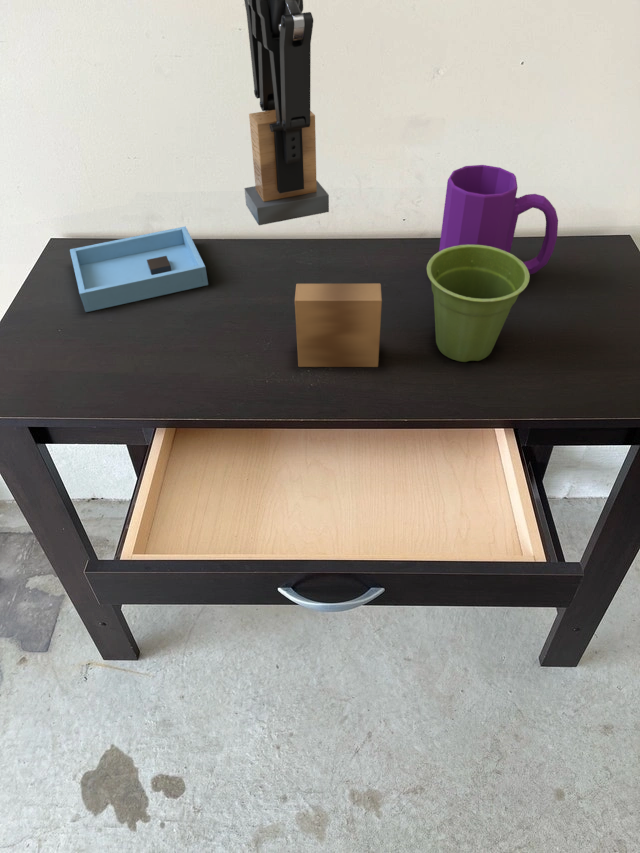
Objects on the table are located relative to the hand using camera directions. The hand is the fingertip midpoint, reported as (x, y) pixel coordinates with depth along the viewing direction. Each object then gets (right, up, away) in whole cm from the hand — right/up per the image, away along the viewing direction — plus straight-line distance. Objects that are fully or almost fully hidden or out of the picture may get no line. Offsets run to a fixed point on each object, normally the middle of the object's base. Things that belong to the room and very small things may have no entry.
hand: (285, 181), depth 70 cm
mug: (+28, -5, +25) cm, 38 cm away
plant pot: (+22, -16, +15) cm, 31 cm away
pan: (-23, -4, +28) cm, 36 cm away
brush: (0, -2, +2) cm, 3 cm away
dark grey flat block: (-20, -3, +28) cm, 35 cm away
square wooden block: (+6, -17, +13) cm, 23 cm away
